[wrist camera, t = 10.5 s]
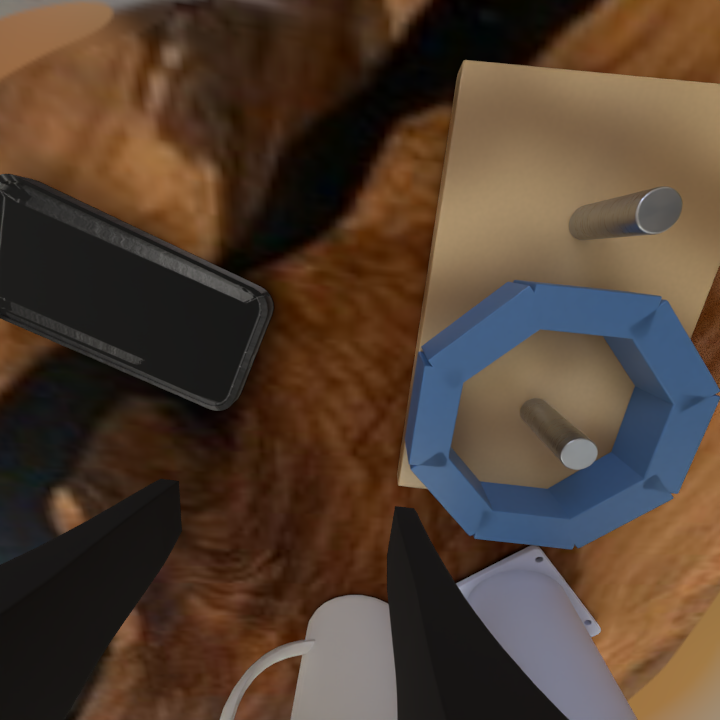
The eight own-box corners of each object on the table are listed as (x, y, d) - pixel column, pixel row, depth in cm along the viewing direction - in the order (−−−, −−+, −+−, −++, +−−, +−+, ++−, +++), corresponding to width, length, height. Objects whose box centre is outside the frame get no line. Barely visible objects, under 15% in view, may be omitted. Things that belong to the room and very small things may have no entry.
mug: (429, 624, 26) (463, 855, 16) (370, 679, 28) (367, 914, 18) (294, 547, 24) (238, 750, 14) (242, 612, 27) (161, 828, 16)
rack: (610, 497, 22) (687, 576, 17) (396, 474, 22) (403, 544, 17) (759, 101, 16) (963, 19, 10) (457, 73, 16) (499, -23, 10)
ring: (705, 299, 17) (762, 306, 15) (618, 523, 21) (650, 559, 19) (430, 271, 17) (439, 273, 15) (395, 499, 21) (397, 530, 19)
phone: (-7, 165, 17) (273, 297, 18) (15, 170, 18) (279, 295, 19) (-25, 309, 19) (226, 418, 20) (-4, 306, 20) (234, 410, 21)
